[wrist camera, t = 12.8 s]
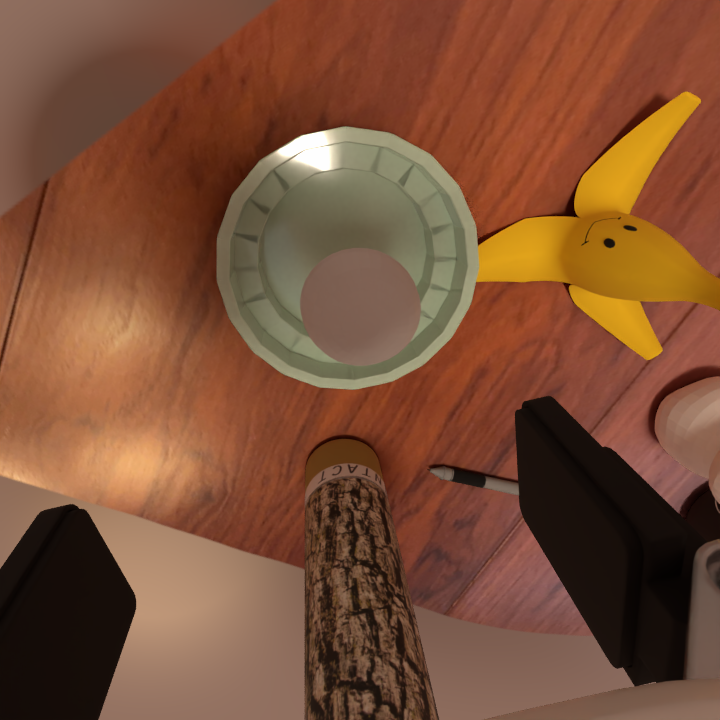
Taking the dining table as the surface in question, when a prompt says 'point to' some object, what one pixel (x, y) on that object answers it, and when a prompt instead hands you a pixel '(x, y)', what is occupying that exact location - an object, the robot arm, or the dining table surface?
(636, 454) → the dining table surface
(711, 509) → the mug
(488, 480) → the pen
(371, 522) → the paper tube
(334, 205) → the bowl
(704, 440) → the cat figurine
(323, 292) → the lollipop
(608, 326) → the banana peel
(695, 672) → the robot arm
